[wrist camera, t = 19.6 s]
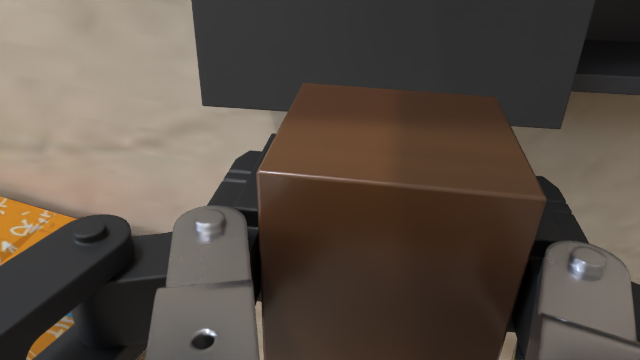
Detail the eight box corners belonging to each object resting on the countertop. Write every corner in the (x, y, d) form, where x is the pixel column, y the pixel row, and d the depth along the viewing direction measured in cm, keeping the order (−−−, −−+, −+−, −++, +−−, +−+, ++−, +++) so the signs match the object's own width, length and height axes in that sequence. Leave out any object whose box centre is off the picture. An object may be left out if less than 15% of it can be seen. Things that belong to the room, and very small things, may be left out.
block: (302, 81, 12) (255, 171, 8) (497, 96, 11) (548, 198, 7) (300, 236, 14) (262, 364, 10) (463, 252, 14) (489, 395, 10)
